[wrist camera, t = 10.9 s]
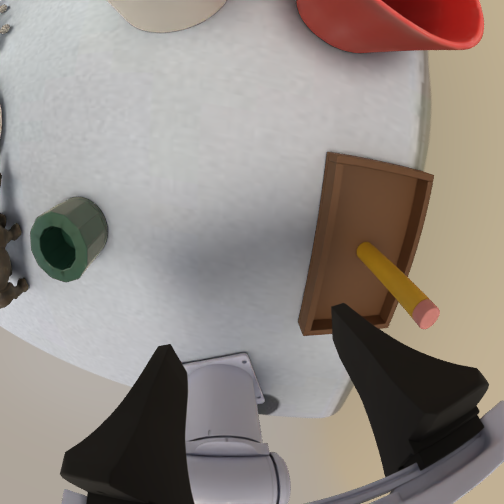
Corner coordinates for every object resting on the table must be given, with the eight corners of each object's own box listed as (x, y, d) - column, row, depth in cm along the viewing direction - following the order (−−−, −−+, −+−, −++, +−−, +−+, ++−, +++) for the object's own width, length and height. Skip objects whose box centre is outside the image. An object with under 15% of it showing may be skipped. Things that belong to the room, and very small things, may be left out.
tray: (379, 315, 26) (388, 327, 24) (297, 321, 25) (302, 336, 23) (420, 170, 19) (434, 175, 18) (326, 151, 18) (337, 154, 16)
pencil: (372, 256, 22) (437, 324, 13) (356, 260, 22) (417, 333, 13) (372, 239, 21) (442, 304, 13) (355, 244, 21) (422, 313, 13)
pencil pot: (117, 248, 20) (98, 273, 16) (70, 263, 20) (49, 287, 16) (94, 187, 17) (68, 201, 14) (47, 208, 17) (21, 226, 14)
